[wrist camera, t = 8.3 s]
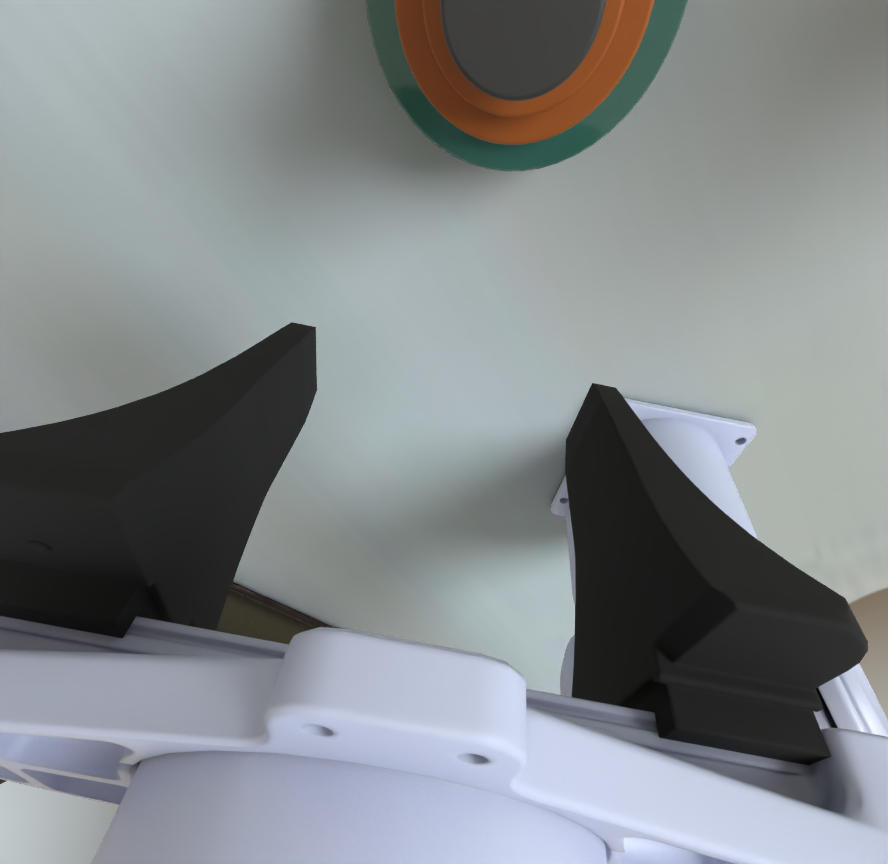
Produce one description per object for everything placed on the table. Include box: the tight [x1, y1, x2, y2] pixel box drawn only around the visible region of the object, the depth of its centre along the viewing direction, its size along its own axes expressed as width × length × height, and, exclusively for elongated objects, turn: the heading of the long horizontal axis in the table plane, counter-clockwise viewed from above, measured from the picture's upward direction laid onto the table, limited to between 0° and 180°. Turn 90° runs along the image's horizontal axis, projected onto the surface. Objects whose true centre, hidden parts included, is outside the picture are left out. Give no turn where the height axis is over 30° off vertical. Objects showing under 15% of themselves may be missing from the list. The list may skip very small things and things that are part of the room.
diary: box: [216, 583, 332, 645], centre depth 49 cm, size 19×25×5 cm
